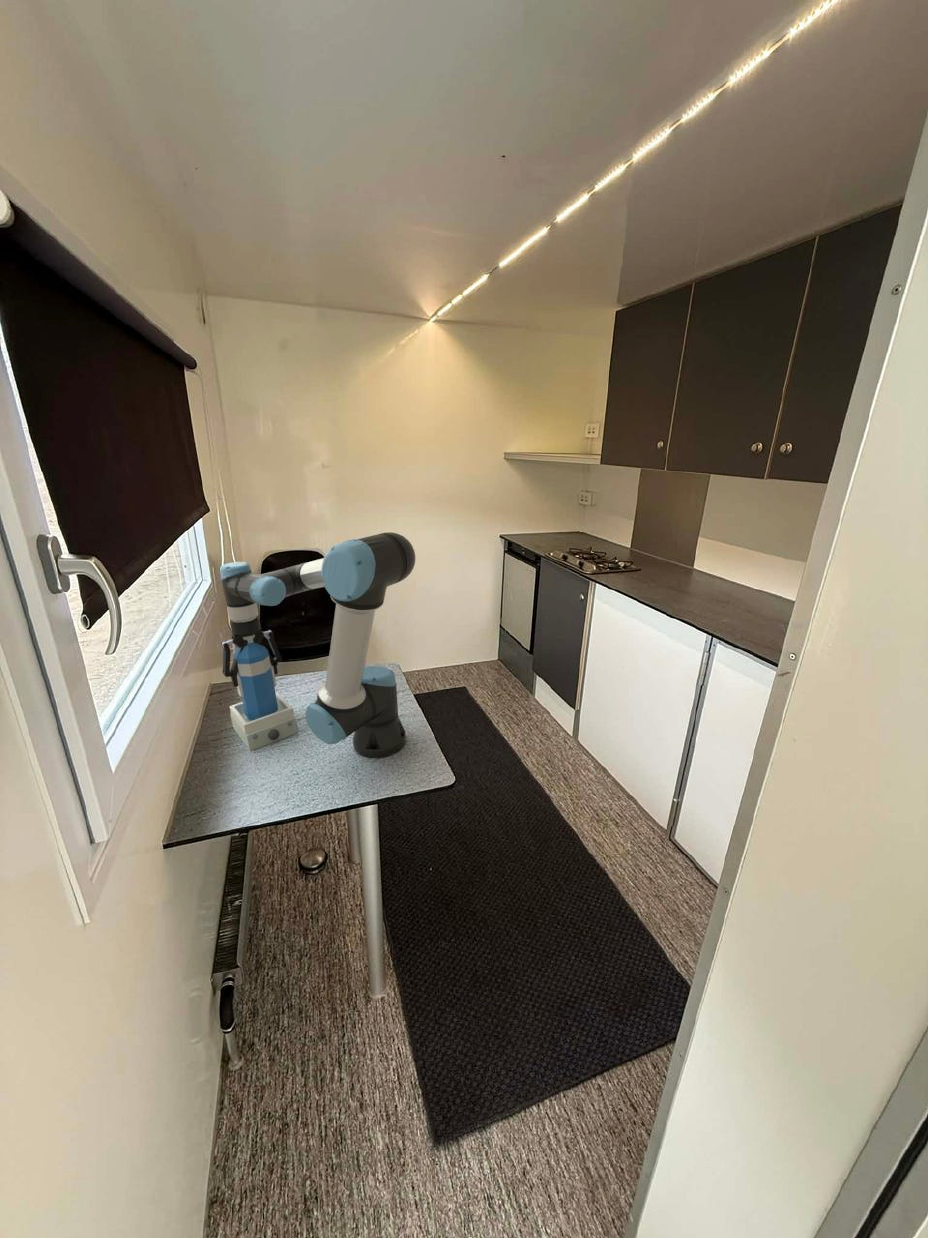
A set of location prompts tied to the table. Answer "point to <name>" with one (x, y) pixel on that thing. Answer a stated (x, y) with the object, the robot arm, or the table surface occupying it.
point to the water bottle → (256, 680)
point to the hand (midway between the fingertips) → (257, 689)
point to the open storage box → (264, 724)
